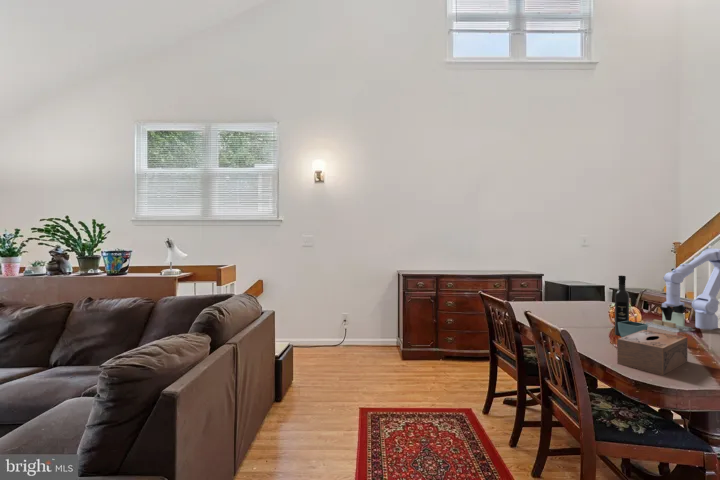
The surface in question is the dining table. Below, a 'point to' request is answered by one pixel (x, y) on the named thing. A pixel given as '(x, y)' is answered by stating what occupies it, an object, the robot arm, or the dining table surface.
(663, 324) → the oak offcut
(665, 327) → the slot rack
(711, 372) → the dining table surface
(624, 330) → the flower pot
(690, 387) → the dining table surface
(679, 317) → the sage panel
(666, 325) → the oak offcut
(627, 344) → the tissue box cover
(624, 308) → the wine bottle
